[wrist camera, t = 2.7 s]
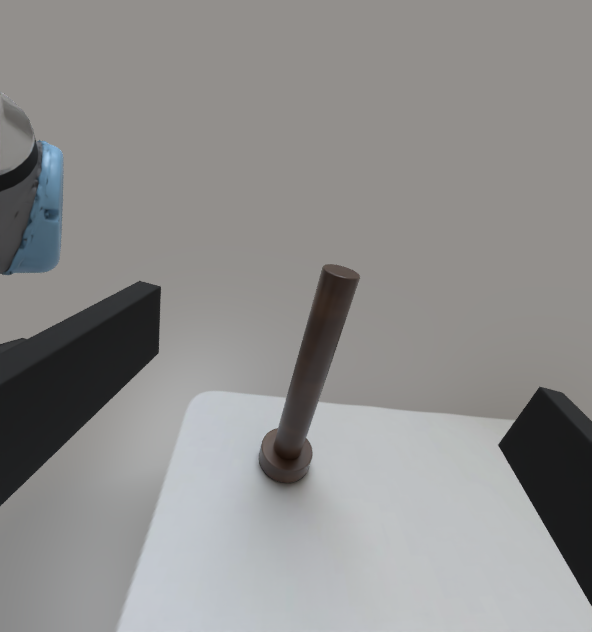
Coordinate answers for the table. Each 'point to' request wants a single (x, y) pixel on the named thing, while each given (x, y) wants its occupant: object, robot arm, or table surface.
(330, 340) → the muddler
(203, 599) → the table surface
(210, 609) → the table surface
